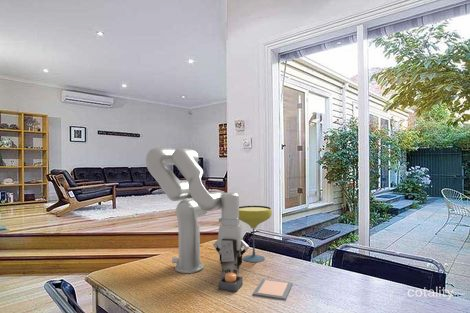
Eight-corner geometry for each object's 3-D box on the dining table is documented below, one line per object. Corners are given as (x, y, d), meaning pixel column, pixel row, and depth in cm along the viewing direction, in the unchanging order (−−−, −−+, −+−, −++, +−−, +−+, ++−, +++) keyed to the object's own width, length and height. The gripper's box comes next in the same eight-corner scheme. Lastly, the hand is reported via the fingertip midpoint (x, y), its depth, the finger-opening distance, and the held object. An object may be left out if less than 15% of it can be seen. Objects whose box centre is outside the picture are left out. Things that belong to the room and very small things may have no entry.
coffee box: (236, 280, 122) (235, 240, 122) (221, 279, 123) (220, 239, 123) (240, 272, 131) (240, 235, 131) (226, 271, 132) (225, 234, 132)
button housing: (218, 289, 113) (218, 281, 113) (225, 282, 120) (225, 274, 120) (236, 292, 110) (236, 284, 110) (242, 284, 117) (242, 277, 117)
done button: (223, 283, 114) (223, 276, 114) (227, 279, 118) (227, 272, 118) (234, 285, 112) (233, 277, 112) (237, 280, 116) (237, 273, 116)
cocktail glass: (231, 255, 154) (230, 206, 155) (263, 251, 160) (262, 204, 160) (242, 267, 137) (241, 212, 137) (278, 262, 142) (277, 209, 143)
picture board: (252, 295, 108) (252, 293, 108) (262, 280, 121) (262, 278, 121) (285, 300, 104) (285, 298, 104) (292, 284, 117) (292, 282, 117)
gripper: (208, 222, 127) (208, 264, 126) (247, 225, 121) (247, 269, 120) (215, 219, 134) (215, 259, 133) (252, 221, 128) (253, 263, 127)
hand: (230, 263), depth 127 cm, fingers closed on coffee box, 7 cm apart
